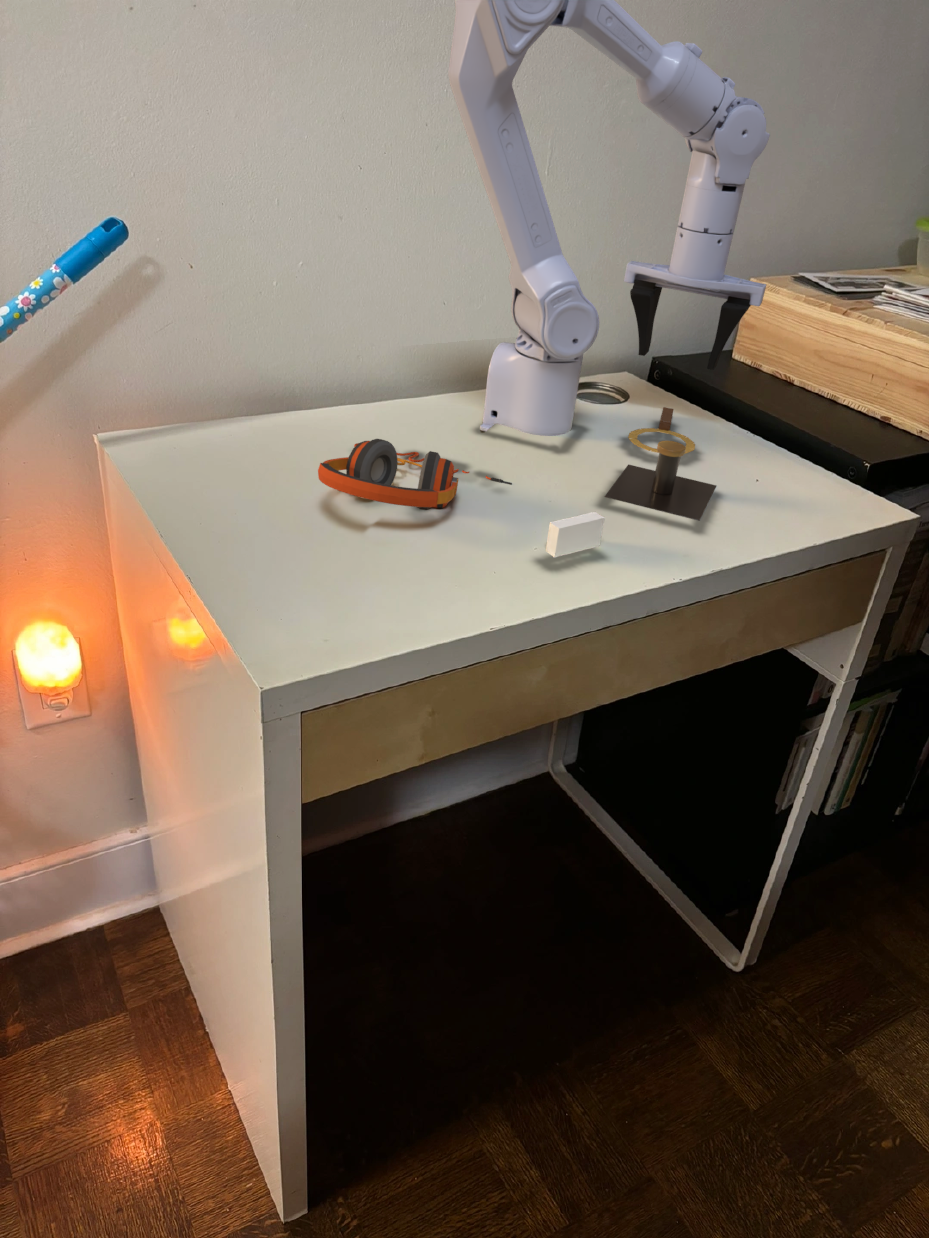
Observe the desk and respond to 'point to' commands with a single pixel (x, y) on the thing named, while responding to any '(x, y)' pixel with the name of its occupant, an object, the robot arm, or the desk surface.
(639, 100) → the robot arm
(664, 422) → the ring
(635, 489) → the stand
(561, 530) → the eraser
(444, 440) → the desk surface
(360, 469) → the headphones
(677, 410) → the desk surface
